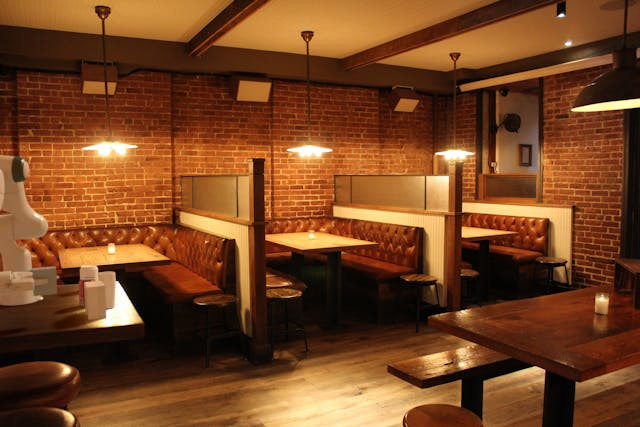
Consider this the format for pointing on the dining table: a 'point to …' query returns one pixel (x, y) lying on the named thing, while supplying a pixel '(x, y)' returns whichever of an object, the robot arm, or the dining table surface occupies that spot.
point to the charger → (42, 274)
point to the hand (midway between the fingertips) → (47, 279)
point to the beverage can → (89, 271)
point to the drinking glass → (108, 287)
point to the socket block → (95, 300)
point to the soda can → (81, 289)
